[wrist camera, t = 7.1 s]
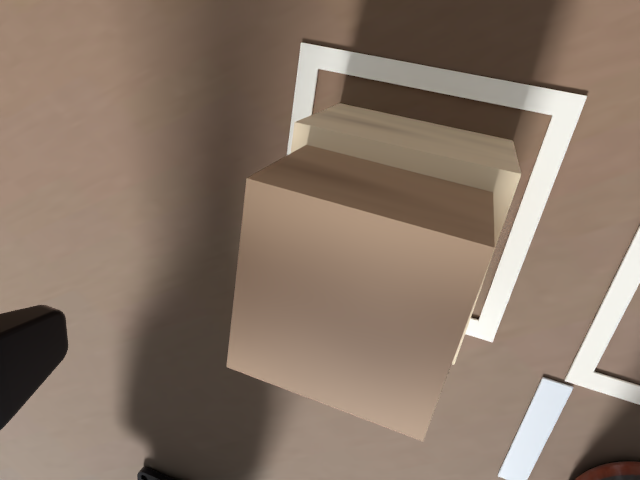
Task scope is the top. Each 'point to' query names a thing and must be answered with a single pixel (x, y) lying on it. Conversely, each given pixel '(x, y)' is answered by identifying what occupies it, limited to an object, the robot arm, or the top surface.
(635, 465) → the supplement bottle
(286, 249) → the light brown wooden block
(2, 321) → the robot arm
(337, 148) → the maple block
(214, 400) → the top surface
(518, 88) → the blueprint lines
